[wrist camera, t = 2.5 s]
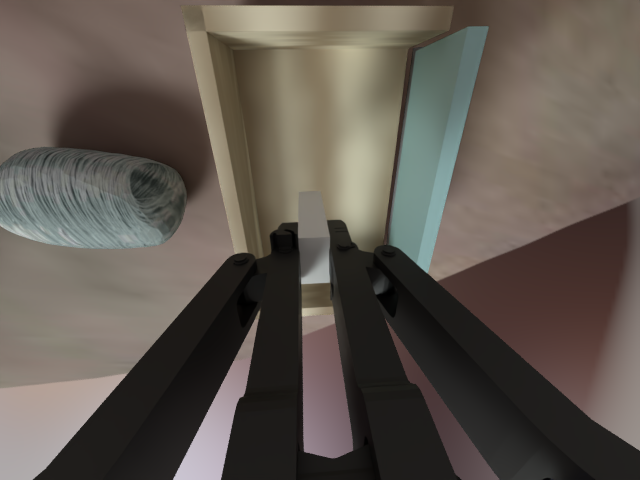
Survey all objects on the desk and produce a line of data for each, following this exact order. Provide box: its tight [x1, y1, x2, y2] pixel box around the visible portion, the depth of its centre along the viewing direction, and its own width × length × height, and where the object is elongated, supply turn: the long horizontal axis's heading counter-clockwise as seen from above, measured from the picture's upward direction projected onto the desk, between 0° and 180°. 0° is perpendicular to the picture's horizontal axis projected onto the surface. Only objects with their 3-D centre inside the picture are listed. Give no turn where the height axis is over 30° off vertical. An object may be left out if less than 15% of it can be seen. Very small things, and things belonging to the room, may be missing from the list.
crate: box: [181, 6, 454, 319], centre depth 22 cm, size 14×22×9 cm, turn 1°
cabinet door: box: [386, 26, 489, 274], centre depth 21 cm, size 1×20×9 cm, turn 1°
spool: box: [0, 147, 187, 249], centre depth 22 cm, size 14×10×10 cm
